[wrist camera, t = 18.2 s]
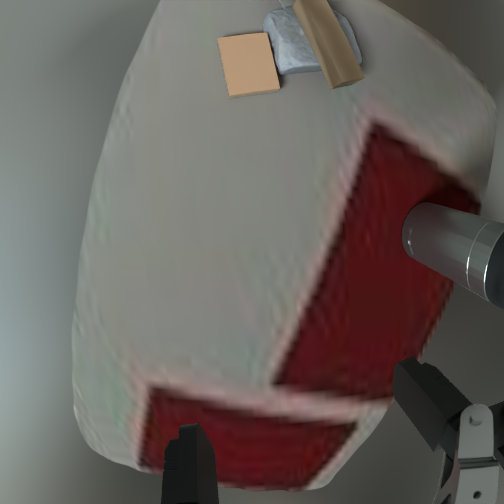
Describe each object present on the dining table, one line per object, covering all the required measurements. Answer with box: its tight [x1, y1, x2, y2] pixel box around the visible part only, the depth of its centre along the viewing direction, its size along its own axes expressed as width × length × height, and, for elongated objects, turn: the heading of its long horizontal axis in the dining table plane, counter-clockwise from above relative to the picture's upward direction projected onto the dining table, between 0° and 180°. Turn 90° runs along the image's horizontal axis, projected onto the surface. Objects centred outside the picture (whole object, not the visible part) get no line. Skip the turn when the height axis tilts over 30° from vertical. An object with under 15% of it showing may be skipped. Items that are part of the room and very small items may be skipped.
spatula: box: [279, 0, 365, 89], centre depth 25 cm, size 5×18×4 cm, turn 21°
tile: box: [218, 32, 280, 99], centre depth 30 cm, size 6×2×8 cm
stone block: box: [263, 8, 362, 75], centre depth 30 cm, size 12×5×10 cm
